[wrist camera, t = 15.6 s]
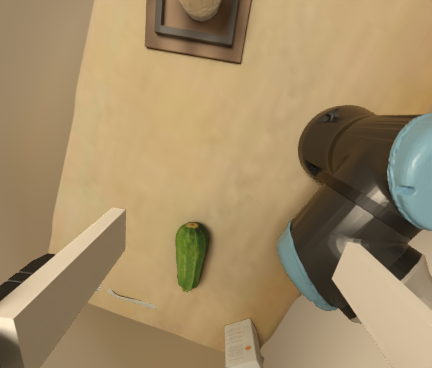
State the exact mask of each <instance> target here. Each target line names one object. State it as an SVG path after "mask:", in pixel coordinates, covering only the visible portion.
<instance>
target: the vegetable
mask: <svg viewBox="0 0 432 368" xmlns="http://www.w3.org/2000/svg"><path fill="white" fill-rule="evenodd" d="M208 241H209V238H208V233H207V231H206V229H205V228H204V226H203V225H202V224H200V223H196V222H189V223H187V224H184V225H182V226H181V227H180V228H179V229H178V231H177V234H176V262H177V271H178V273H177V278H178V283H179V285H180V286H181V287H182V289H183V291H186V292H188V291H190V290H192V289H193V288H196V287H197V286H198V282H199V279H200V275H201V270H202V265H203V261H204V258H205V255H206V252H207V248H208Z"/></svg>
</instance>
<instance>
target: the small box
mask: <svg viewBox="0 0 432 368" xmlns="http://www.w3.org/2000/svg"><path fill="white" fill-rule="evenodd" d="M225 359H226V368H263V364H262V358H261V352H260V347H259V341H258V336H257V331H256V329H255V327H254V325H253V323H252V321H251V319H250V318H249V319H246V320H243V321H239V322H236V323H233V324H229V325H226V326H225Z"/></svg>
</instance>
